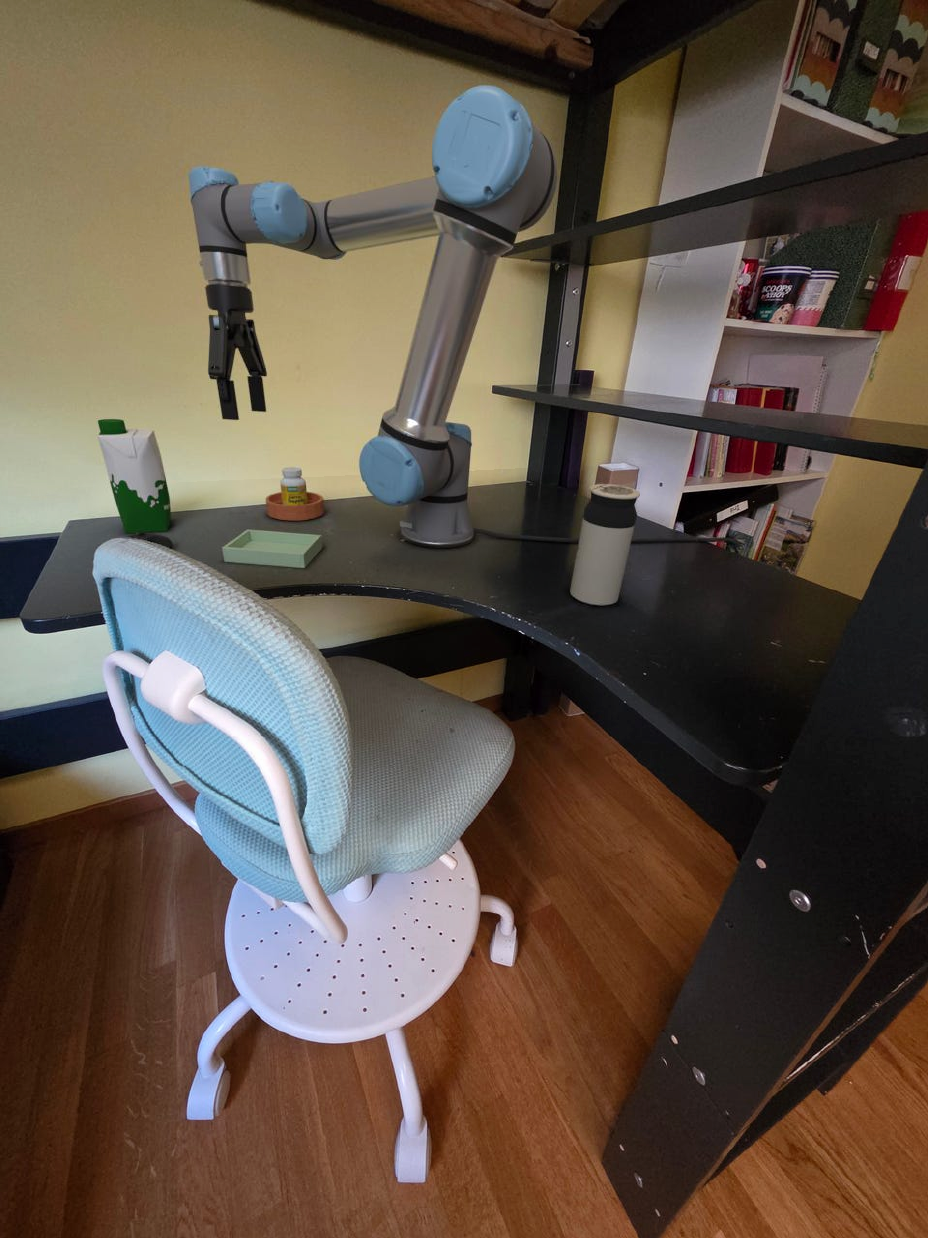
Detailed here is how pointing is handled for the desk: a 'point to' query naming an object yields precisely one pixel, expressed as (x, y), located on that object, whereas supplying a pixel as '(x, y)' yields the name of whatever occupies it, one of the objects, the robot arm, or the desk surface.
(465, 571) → the desk surface
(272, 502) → the bowl
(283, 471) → the supplement bottle
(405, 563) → the desk surface
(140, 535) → the game controller
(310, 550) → the tray
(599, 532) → the travel mug
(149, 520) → the milk carton
